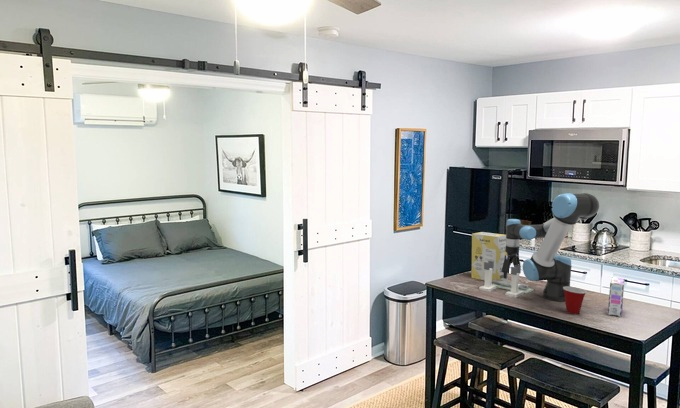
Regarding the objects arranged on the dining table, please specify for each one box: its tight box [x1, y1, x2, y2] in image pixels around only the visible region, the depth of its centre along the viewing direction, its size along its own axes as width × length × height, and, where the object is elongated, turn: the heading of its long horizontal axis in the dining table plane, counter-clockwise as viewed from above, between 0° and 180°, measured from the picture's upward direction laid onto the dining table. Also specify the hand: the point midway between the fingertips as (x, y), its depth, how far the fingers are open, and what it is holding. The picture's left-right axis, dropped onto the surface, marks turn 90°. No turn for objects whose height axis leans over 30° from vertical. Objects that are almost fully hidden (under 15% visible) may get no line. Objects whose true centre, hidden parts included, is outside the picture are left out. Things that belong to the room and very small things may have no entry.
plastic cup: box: [563, 286, 588, 315], centre depth 249 cm, size 11×11×12 cm
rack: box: [478, 261, 525, 298], centre depth 283 cm, size 22×10×16 cm, turn 47°
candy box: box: [607, 276, 625, 318], centre depth 249 cm, size 14×6×16 cm, turn 148°
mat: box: [492, 283, 535, 295], centre depth 292 cm, size 22×10×1 cm, turn 47°
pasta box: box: [471, 231, 508, 283], centre depth 310 cm, size 18×10×28 cm, turn 41°
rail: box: [492, 279, 529, 290], centre depth 292 cm, size 20×3×3 cm, turn 47°
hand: (510, 281), depth 292 cm, fingers open, 13 cm apart
